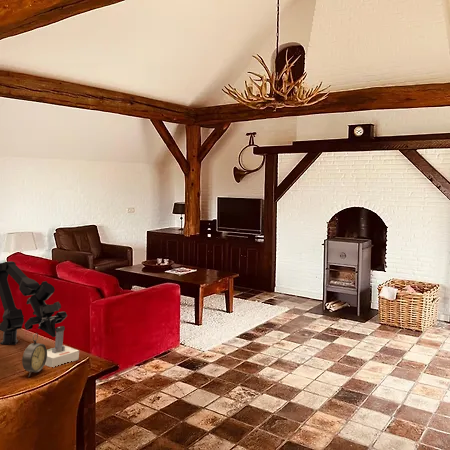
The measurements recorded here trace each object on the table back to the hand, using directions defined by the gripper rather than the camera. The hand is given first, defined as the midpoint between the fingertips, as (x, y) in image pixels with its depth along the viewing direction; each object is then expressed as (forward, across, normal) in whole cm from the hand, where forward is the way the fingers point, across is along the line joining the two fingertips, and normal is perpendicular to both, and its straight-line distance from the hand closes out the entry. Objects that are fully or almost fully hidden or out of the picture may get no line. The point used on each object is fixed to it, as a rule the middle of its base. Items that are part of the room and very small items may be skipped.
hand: (54, 336), depth 204 cm
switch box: (+9, 0, +5) cm, 10 cm away
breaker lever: (+6, 0, +2) cm, 7 cm away
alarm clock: (+12, -16, +2) cm, 20 cm away
